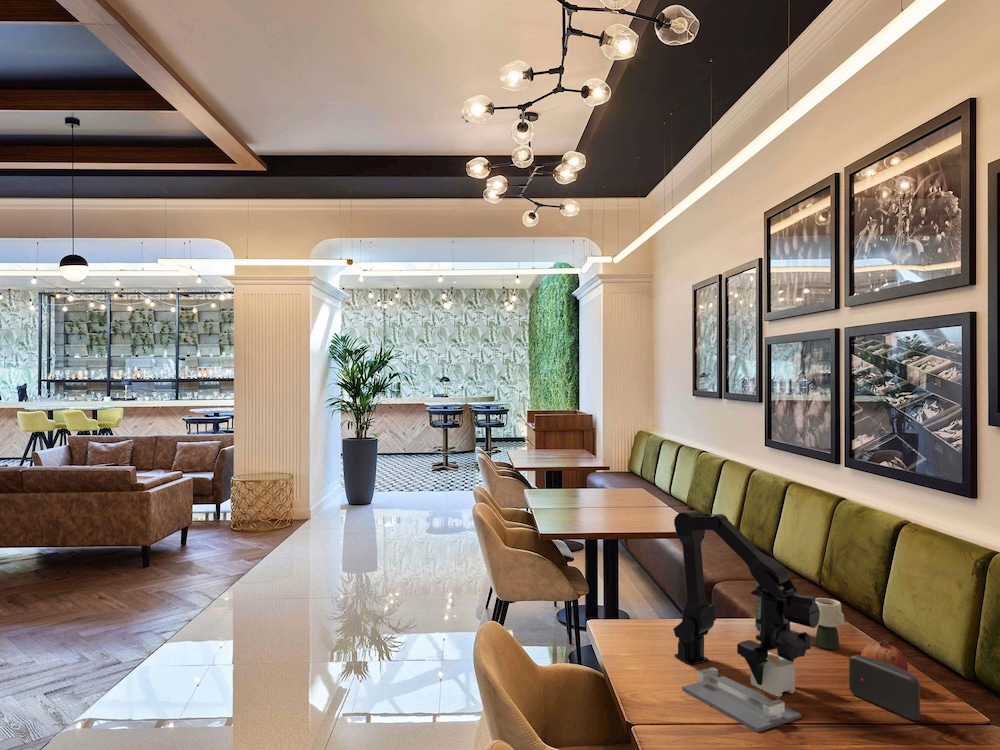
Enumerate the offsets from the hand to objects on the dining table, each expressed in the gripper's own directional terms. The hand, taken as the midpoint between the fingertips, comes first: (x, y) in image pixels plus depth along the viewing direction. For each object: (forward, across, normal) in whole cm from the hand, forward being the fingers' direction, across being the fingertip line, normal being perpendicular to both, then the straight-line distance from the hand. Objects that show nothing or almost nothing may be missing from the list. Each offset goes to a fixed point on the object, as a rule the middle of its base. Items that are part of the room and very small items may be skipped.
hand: (772, 681), depth 157 cm
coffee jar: (+2, +34, +27) cm, 43 cm away
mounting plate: (+2, -14, -2) cm, 14 cm away
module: (+2, 0, 0) cm, 2 cm away
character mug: (+2, +37, +11) cm, 39 cm away
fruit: (+2, +29, -10) cm, 31 cm away
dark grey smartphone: (+2, +15, -18) cm, 24 cm away
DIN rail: (+2, -14, -2) cm, 14 cm away
